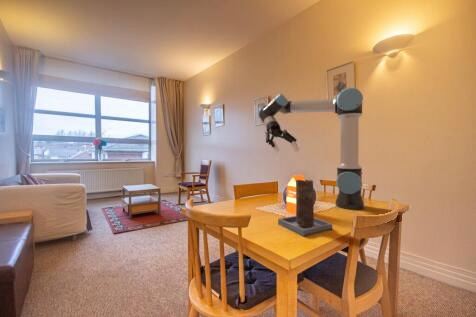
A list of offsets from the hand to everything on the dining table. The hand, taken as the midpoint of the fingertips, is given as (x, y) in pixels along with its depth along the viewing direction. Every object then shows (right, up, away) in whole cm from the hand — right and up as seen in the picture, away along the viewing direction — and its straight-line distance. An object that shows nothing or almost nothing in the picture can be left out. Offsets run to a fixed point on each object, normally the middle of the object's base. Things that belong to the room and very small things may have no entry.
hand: (288, 150), depth 122 cm
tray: (+2, -34, -24) cm, 42 cm away
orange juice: (+4, -33, -2) cm, 33 cm away
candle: (+2, -33, -24) cm, 41 cm away
